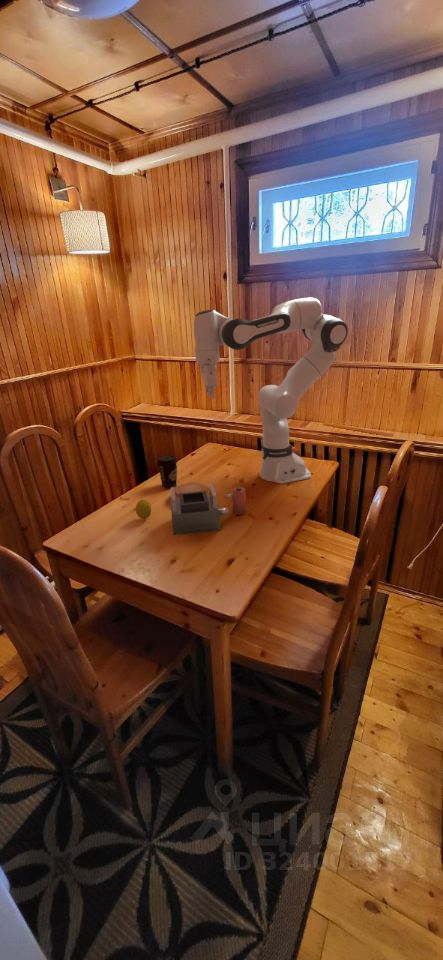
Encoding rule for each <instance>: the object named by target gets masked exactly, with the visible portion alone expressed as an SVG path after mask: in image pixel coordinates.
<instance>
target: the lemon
mask: <svg viewBox="0 0 443 960" xmlns="http://www.w3.org/2000/svg"><path fill="white" fill-rule="evenodd" d="M135 513H136V515H137V516H138V518H140V519H143V520H147V519H148V518H149V517H150V516H151V514H152V506H151V504H150V502H149V501H148V500H146V499H143V498H142V499H141V500H139V501H138V502H137V503H136V505H135Z"/></svg>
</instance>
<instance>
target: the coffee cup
mask: <svg viewBox="0 0 443 960" xmlns="http://www.w3.org/2000/svg"><path fill="white" fill-rule="evenodd" d="M156 464H157V466H158V470H159V474H160V481H161V487H162V488H163V489H166V490H168V489H170V490H171V487H174V488H175V487H177V481H178V480H177V478H178V477H177V476H178V466H177V464H178V459H177V458H176V457H175V455H173V454H172V455H169V454H166V455H162V456H159V457H158V460H157V462H156Z"/></svg>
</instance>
